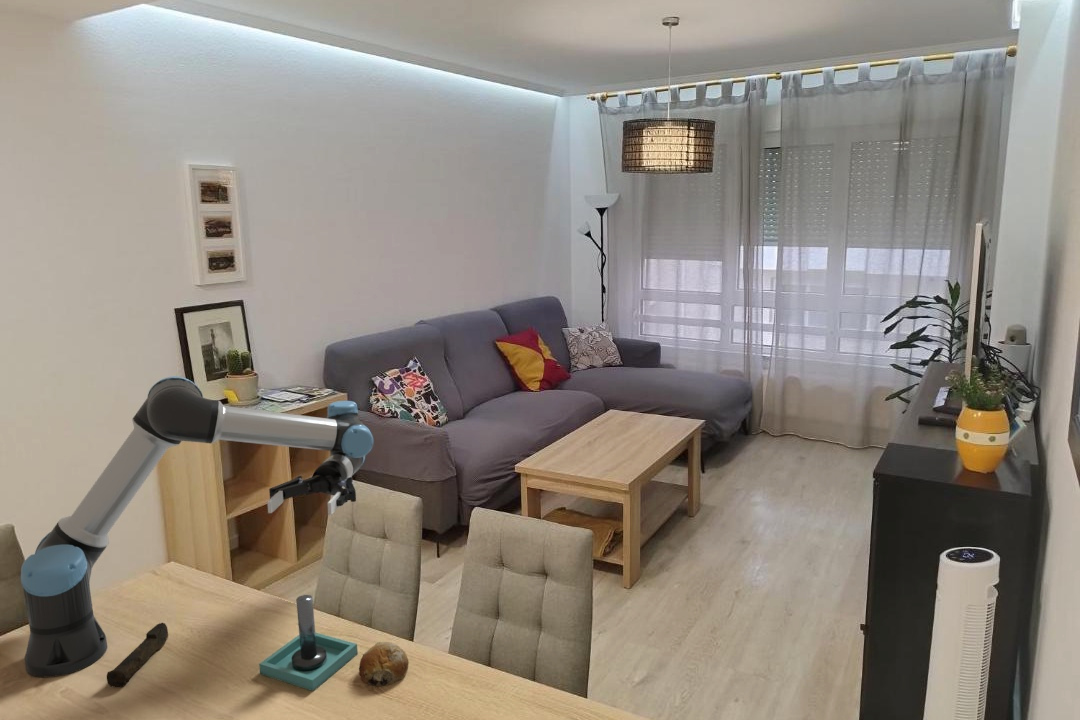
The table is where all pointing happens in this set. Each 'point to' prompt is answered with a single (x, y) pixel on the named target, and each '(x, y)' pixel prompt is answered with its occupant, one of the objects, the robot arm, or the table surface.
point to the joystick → (307, 638)
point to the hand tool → (138, 656)
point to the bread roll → (383, 664)
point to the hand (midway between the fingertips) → (299, 508)
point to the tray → (284, 671)
